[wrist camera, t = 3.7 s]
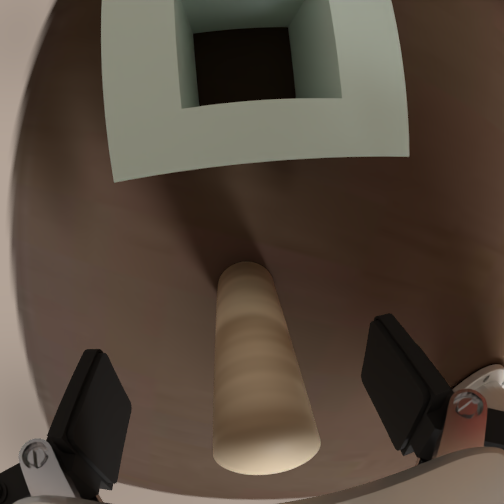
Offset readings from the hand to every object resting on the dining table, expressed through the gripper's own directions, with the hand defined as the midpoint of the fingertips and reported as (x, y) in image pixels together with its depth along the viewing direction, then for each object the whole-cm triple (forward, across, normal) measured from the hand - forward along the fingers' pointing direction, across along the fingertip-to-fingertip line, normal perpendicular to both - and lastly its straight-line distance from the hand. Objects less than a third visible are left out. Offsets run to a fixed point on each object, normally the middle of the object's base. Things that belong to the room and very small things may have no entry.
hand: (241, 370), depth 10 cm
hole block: (+7, -2, -14) cm, 16 cm away
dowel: (+7, -1, +1) cm, 7 cm away
